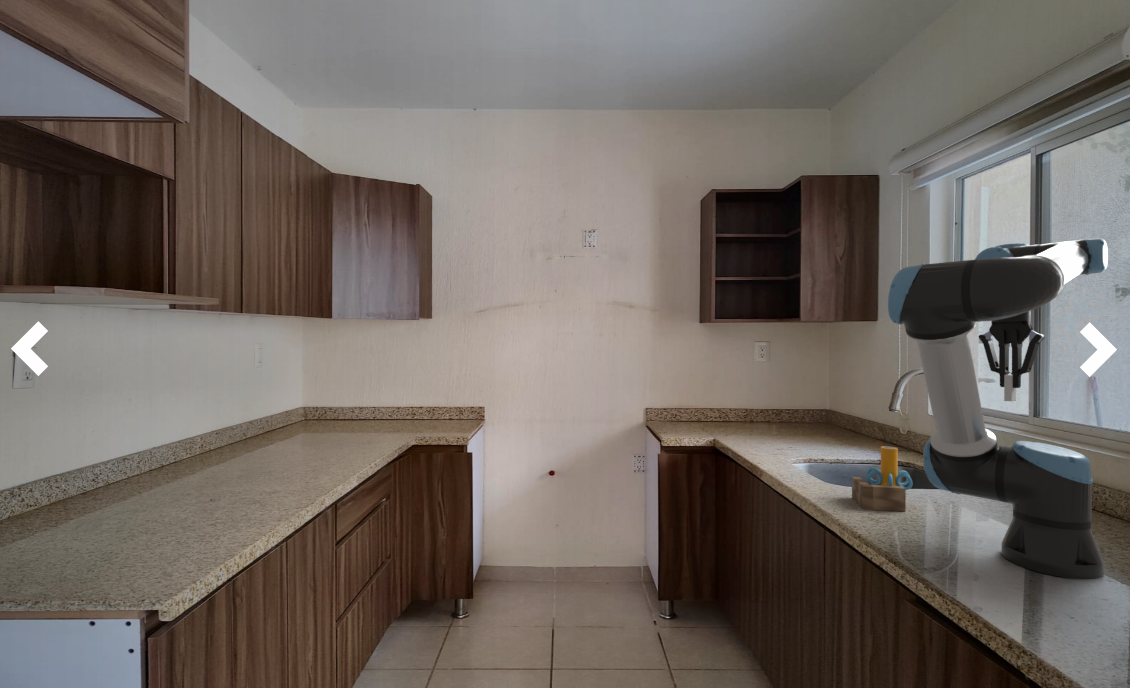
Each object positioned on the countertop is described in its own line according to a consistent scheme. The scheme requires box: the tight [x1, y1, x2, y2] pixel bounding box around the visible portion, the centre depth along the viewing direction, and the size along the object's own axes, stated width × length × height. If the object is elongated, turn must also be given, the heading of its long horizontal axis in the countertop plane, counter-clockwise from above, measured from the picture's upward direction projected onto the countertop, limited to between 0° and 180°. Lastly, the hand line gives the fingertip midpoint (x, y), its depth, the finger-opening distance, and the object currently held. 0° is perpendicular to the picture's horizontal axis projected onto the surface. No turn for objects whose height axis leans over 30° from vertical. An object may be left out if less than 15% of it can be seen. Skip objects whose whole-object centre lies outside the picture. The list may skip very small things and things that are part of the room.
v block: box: [851, 476, 907, 513], centre depth 143 cm, size 9×14×6 cm, turn 32°
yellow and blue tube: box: [866, 445, 914, 491], centre depth 147 cm, size 12×10×15 cm
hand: (1010, 400), depth 134 cm, fingers closed
